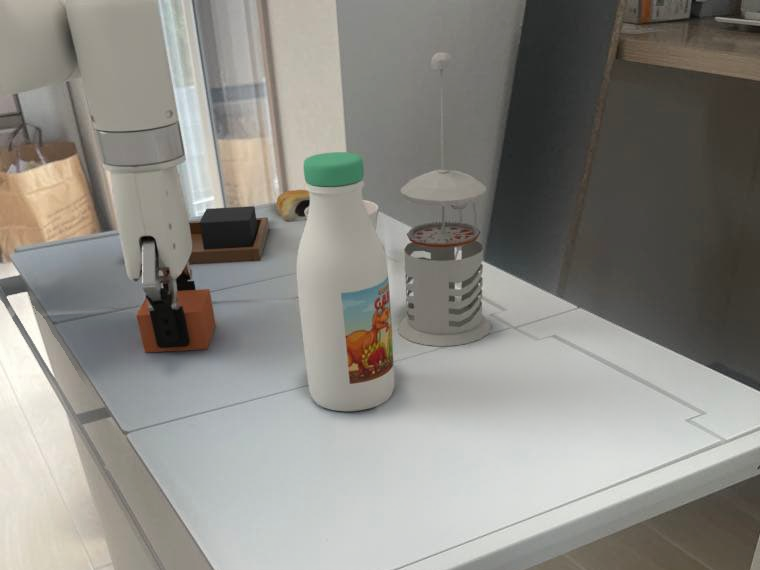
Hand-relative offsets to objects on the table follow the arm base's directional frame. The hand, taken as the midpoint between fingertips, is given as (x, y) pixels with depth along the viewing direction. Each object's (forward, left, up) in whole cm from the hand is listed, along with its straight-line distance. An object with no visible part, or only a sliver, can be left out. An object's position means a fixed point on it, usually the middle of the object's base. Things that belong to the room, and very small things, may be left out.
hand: (179, 330), depth 87 cm
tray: (-2, +29, -1) cm, 29 cm away
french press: (+28, 0, -1) cm, 28 cm away
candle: (+17, +22, -1) cm, 28 cm away
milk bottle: (+18, -15, -1) cm, 23 cm away
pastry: (+10, +43, -1) cm, 44 cm away
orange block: (0, 0, -1) cm, 1 cm away
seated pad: (+2, +29, 0) cm, 29 cm away
